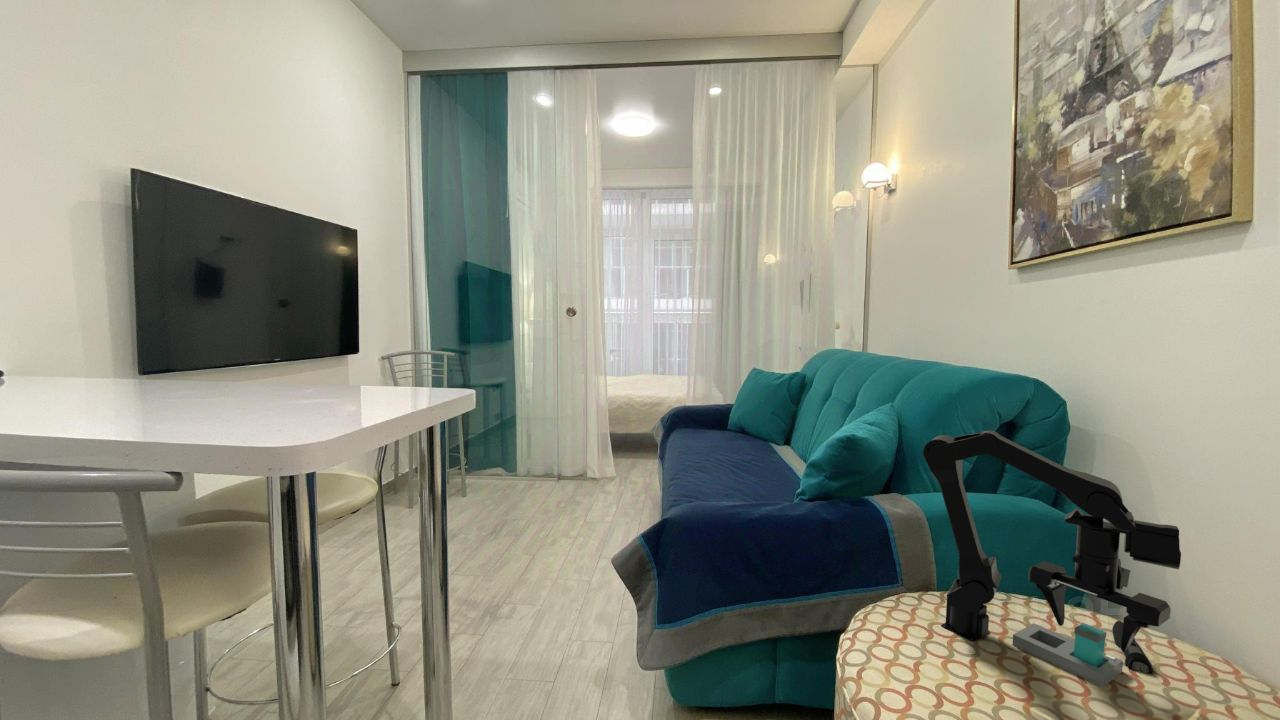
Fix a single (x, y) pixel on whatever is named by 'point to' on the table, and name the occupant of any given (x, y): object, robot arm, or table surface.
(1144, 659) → the electric trimmer
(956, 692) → the table surface
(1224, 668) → the table surface
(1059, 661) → the grey flat block
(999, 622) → the table surface
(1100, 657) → the plug
